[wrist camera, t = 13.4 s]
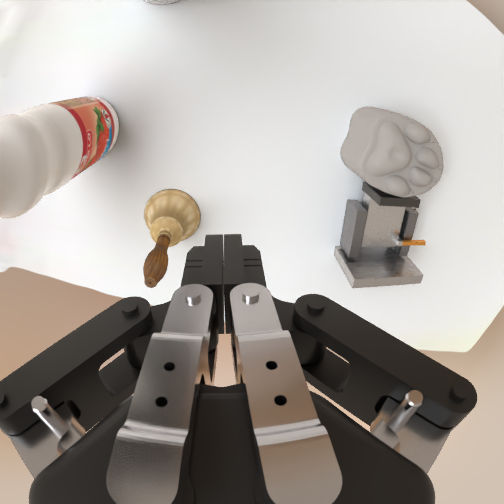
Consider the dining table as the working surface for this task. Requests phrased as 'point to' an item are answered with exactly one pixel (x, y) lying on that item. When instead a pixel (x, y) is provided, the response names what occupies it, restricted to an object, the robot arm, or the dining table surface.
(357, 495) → the robot arm
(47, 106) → the fruit juice
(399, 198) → the grey boxy piece
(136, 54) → the dining table surface
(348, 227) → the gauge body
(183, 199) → the hand bell
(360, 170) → the paw print stamp
